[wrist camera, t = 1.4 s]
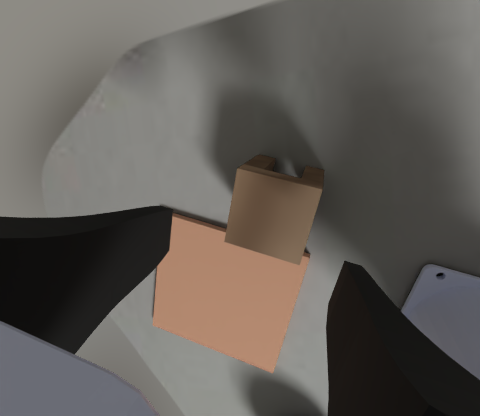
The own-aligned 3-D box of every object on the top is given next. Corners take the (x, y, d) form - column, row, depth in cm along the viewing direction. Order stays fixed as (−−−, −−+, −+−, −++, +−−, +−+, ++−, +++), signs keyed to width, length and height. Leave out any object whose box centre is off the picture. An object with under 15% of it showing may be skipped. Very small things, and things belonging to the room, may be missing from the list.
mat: (310, 254, 21) (309, 258, 20) (274, 367, 25) (272, 373, 25) (165, 210, 23) (161, 212, 23) (156, 321, 28) (152, 325, 27)
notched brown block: (324, 169, 18) (322, 189, 14) (306, 230, 20) (299, 265, 16) (258, 154, 19) (237, 168, 15) (246, 213, 21) (224, 241, 16)
